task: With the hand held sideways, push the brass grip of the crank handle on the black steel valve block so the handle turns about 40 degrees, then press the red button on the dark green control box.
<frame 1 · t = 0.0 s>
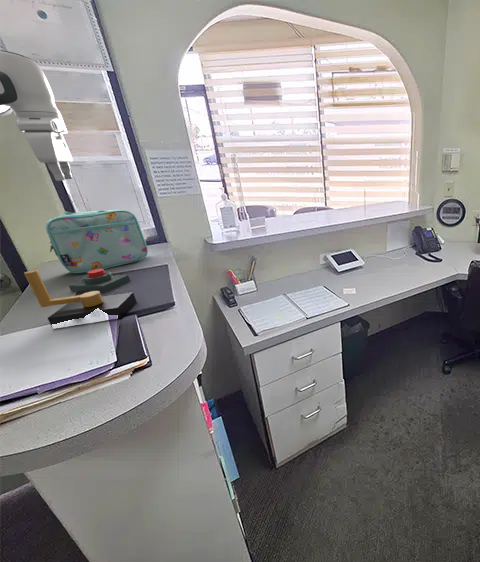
hand: (65, 179, 88), 32 cm above the table, tool pointing down, fingers open, 8 cm apart
red button: (96, 273, 97), point 4 cm above the table, slide at 0.1 cm
valve block: (98, 315, 80), on the table
control box: (101, 286, 98), on the table
crank handle: (65, 288, 75), point 8 cm above the table, hinge at 0.0°
lunch box: (109, 266, 118), on the table
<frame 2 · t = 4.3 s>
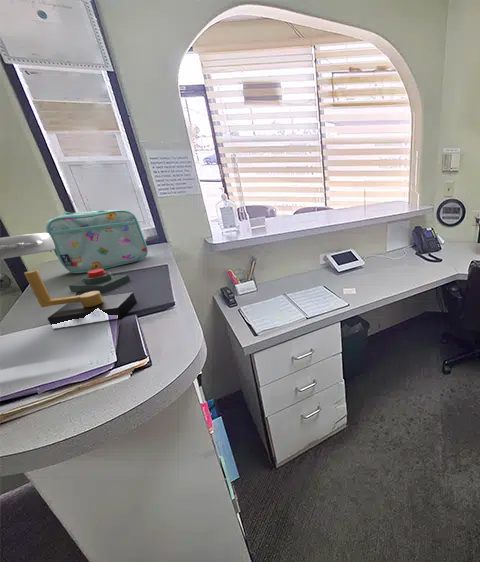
hand: (1, 248, 63), 21 cm above the table, tool horizontal, fingers open, 8 cm apart
nothing on the table moved.
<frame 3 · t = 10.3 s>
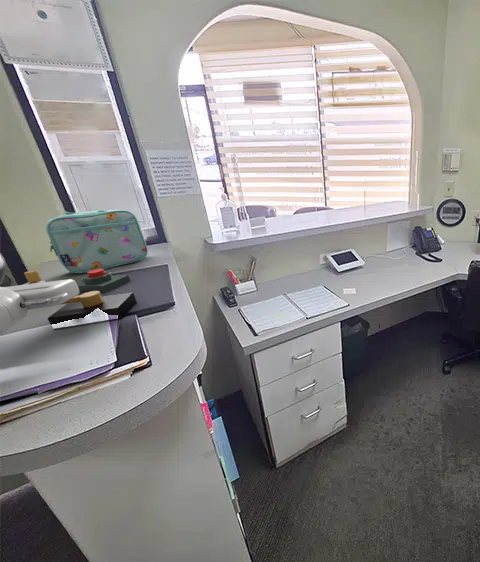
hand: (38, 284, 73), 10 cm above the table, tool horizontal, fingers closed
crank handle: (65, 288, 75), point 8 cm above the table, hinge at 0.0°, touching gripper
everything else where it was.
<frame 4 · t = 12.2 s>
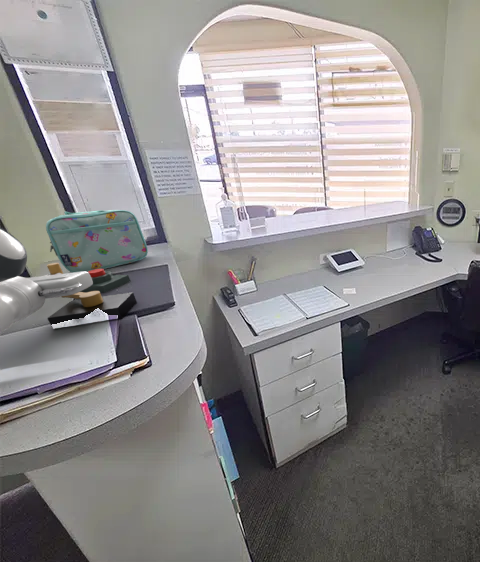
hand: (55, 276, 77), 10 cm above the table, tool horizontal, fingers closed, pressing on crank handle
crank handle: (74, 284, 78), point 8 cm above the table, hinge at 34.9°, touching gripper
everything else where it was.
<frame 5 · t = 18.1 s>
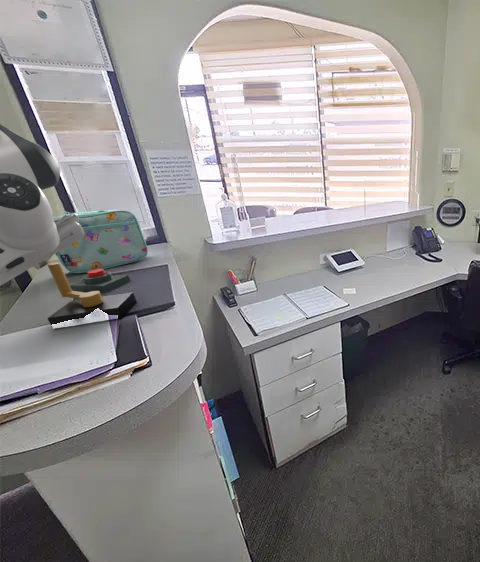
hand: (41, 264, 76), 14 cm above the table, tool tilted 50°, fingers closed
crank handle: (74, 284, 78), point 8 cm above the table, hinge at 35.9°, touching gripper
everything else where it was.
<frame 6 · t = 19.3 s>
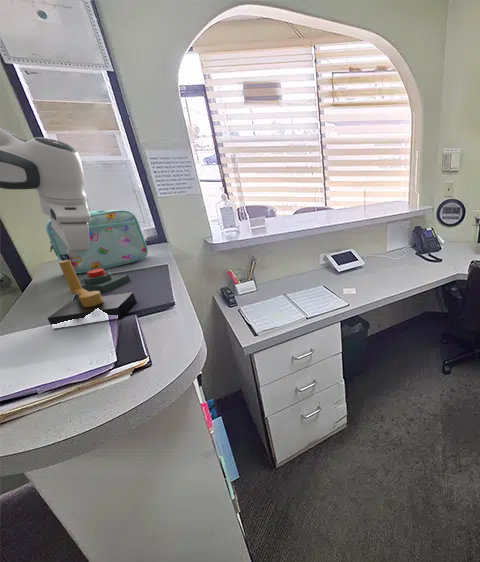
hand: (72, 255, 87), 13 cm above the table, tool tilted 15°, fingers closed
crank handle: (79, 282, 78), point 8 cm above the table, hinge at 49.6°
everything else where it was.
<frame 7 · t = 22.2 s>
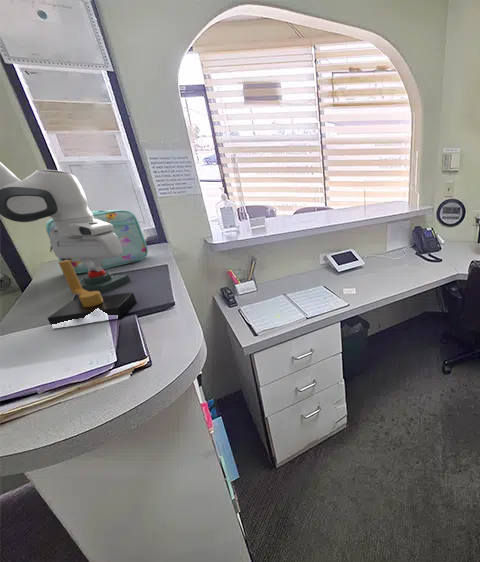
hand: (96, 271, 96), 5 cm above the table, tool pointing down, fingers closed, pressing on red button
red button: (96, 273, 97), point 4 cm above the table, slide at -0.1 cm, touching gripper
everything else where it was.
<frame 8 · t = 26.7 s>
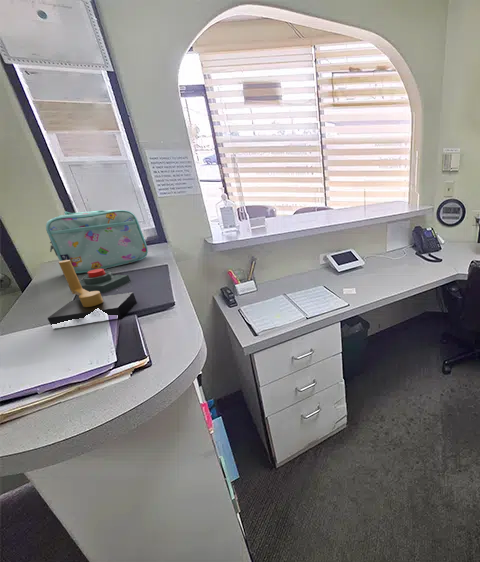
red button: (96, 273, 97), point 4 cm above the table, slide at 0.1 cm
everything else where it was.
at the end: crank handle at +50° (first picture: +0°); red button pushed in 1.0 cm at the most during the clip, back to where it started at the end; red button slide at 0.1 cm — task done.
